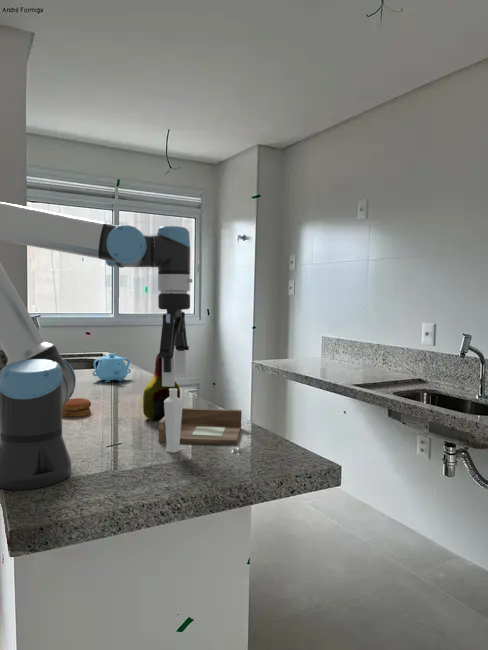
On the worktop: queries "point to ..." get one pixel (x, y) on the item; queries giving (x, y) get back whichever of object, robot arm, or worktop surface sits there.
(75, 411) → the burger
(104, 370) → the teapot
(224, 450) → the worktop surface
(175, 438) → the white faceted vase
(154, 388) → the bottle
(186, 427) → the brown wooden flat tray
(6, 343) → the robot arm
